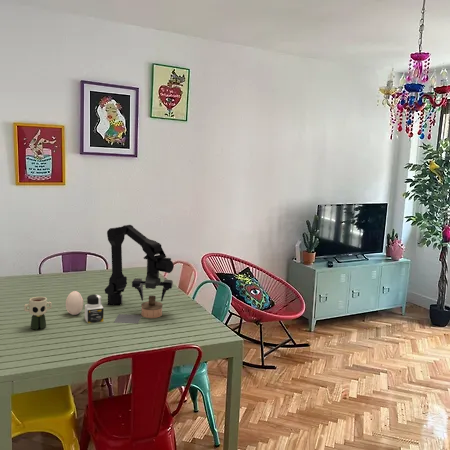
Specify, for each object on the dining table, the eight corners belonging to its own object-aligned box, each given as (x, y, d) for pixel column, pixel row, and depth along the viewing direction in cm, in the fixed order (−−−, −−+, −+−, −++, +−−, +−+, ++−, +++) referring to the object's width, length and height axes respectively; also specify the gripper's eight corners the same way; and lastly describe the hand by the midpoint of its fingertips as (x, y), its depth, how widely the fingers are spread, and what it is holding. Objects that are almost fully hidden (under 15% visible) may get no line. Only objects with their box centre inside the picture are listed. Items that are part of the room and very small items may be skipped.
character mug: (25, 332, 192) (25, 302, 190) (23, 326, 198) (23, 297, 196) (53, 329, 197) (52, 300, 195) (50, 323, 203) (50, 295, 201)
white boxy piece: (87, 324, 204) (87, 298, 202) (84, 319, 210) (84, 294, 209) (103, 322, 208) (103, 297, 206) (100, 317, 214) (100, 292, 212)
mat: (113, 323, 207) (113, 322, 207) (118, 315, 218) (118, 314, 218) (137, 324, 207) (137, 323, 207) (141, 316, 218) (141, 315, 218)
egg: (78, 310, 221) (78, 287, 220) (86, 315, 216) (86, 291, 214) (62, 314, 216) (62, 290, 214) (70, 318, 210) (70, 294, 208)
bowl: (140, 318, 215) (140, 309, 214) (143, 311, 224) (143, 302, 223) (160, 319, 215) (160, 310, 214) (162, 312, 224) (163, 303, 224)
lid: (139, 309, 214) (140, 299, 213) (143, 302, 224) (143, 292, 223) (161, 310, 214) (161, 300, 213) (163, 303, 224) (163, 293, 223)
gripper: (129, 272, 208) (129, 305, 210) (171, 274, 208) (169, 307, 211) (134, 266, 219) (133, 298, 221) (173, 268, 219) (172, 299, 222)
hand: (152, 300), depth 218 cm, fingers open, 9 cm apart
